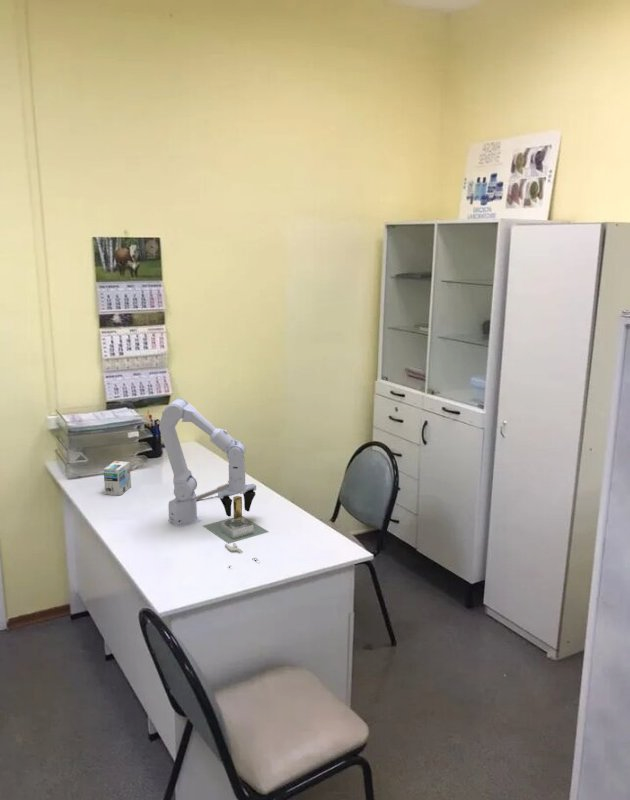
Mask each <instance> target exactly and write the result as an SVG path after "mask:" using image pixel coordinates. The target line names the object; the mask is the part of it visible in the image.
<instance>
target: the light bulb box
mask: <svg viewBox="0 0 630 800" xmlns="http://www.w3.org/2000/svg"><path fill="white" fill-rule="evenodd" d="M103 479H104V481H103V483H104V494H105V495H110V496H122V495H123V494H124V493H125V492H127V491H128V490H129V489H130V488H132V478H131V462H129V461H122V460H121V461H119V460H114V461H113V462H111V463H110V464H108V465H107V466H105V468H103Z"/></svg>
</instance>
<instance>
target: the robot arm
mask: <svg viewBox="0 0 630 800" xmlns="http://www.w3.org/2000/svg"><path fill="white" fill-rule="evenodd" d="M181 419H182V420H181ZM180 420H181V422H182V423H192V424H194V425H195V426H196V427H197V428H198V429H200V430H201V431H203V432H204V433H206V434H207V436H209V438H210V439H209V440H210V442H211V443H212V444H214V445H215V446H216V447H217V448H218V449H220V450H221V451H222V452H223V453H224V454H226V458H227V459H228V481H229V488H227V489H225V490H223V491H220V492H218V493H217V497H218V498H219V500H220V501H221V504H222V505H223V507H224V511H225V515H226V516H227V517H229V518H231V516H232V503H233V498H232V499H231V496H236V495H239V494H240V495H243V501H244V506H243V507H244V510H245V511H246V512H250V510H251V507H252V506H251V505H252V502H253V500H254V498H255V496H256V492H255V491H257V484H254V483H251V484H250V483H249V484H246V463H245V461H246V459H245V454H246V449H247V448H246V445H245V444H244V443H243V442H242V441H240V440H238V439H236V438H233V436H231V435H230V434H229V433H228V430H227V429H223V428H219V427H218V428H217V427H215V426H214V425H213V424H212V423H211V422H210V421H209V420H208V419H207V418H206V417H204V415H203V414H201V413H200V412H199V411H198V410H197V409H196V408H195V407H194V406H193V404H191V403H190V402H189V403H188V401H187V400H186V399H184V398H182V397H177V398H175V399H173V400H172V402H171V403H169V404H168V405H166V406H165V408H163V410H162V412H161V418H160V421H159V426H158V428H159V432H160V435H161V438H162V442H163V444H164V448H165V451H166V455H167V457H168V460H169V464H170V467H171V470H172V473H173V479H172V481H173V486H174V488H173V494H174V497H175V498H173V499H171V500H170V501H168V505H167V508H168V520H167V521H168V522H170V523H171V524H173V525H174V526H175V527H177V528H180V527H184V526H189V525H192V524H195V523H200V522H202V520H203V519H201V518H200V517H198V515H197V514H198V513H197V512H198V511H197V509H198V508H197V506H198V505H197V501H196V496H197V493H195V490H196V489H197V487H198V482H197V481H198V480H197V478H195V477H194V476H193V474H192V473H193V472H192V471H191V470H190V469H188V465H187V463H186V459H185V456H184V452H183V449H182V446H181V442H180V439H179V436H178V432H177V430H176V426H177V425H178V423H179V422H180Z"/></svg>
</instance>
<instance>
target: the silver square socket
mask: <svg viewBox="0 0 630 800" xmlns="http://www.w3.org/2000/svg"><path fill="white" fill-rule="evenodd" d="M221 531H222V532H223V533H225V534H226V535H228V536H229V537H231V538H232V539H236V538H239V537H243V536H246V535H250V534H253V533H254V529H253V524H252V523H250V522H248V521H247V520H245V519H243V518H242V517H240V518H236V519H233V520H229V521H225V522H222V523H221Z"/></svg>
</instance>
